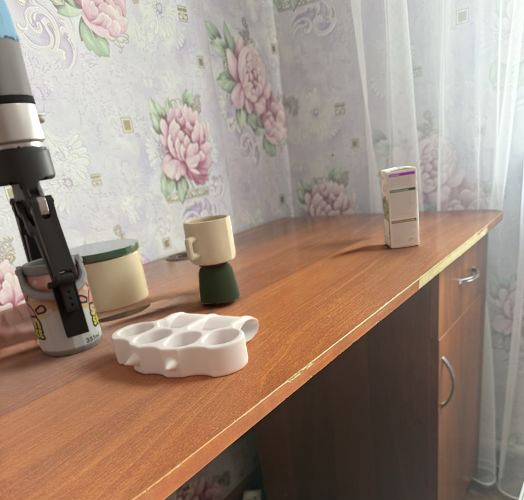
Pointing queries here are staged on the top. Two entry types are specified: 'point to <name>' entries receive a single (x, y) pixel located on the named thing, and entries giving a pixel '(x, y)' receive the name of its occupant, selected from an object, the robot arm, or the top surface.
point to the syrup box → (400, 206)
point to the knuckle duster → (186, 344)
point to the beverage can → (56, 309)
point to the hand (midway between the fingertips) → (68, 326)
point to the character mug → (212, 257)
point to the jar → (114, 275)
